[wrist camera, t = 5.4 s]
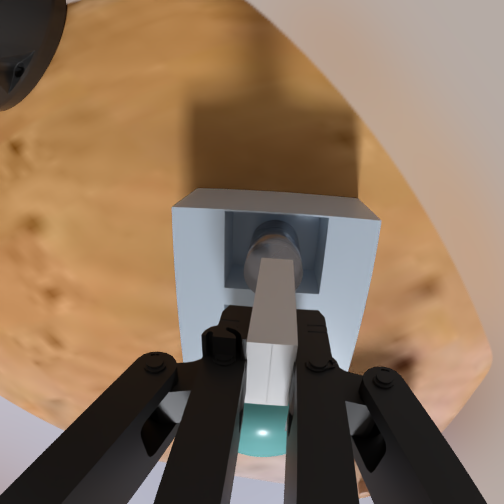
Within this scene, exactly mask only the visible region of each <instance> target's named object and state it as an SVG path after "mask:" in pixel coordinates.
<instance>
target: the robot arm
mask: <svg viewBox="0 0 504 504" xmlns="http://www.w3.org/2000/svg"><path fill="white" fill-rule="evenodd" d="M65 16H66V0H0V111H4V110H7V109H9V108H11V107H13V106H15V105H16V104H18V103H19V102H20V101H22V100H23V99H24V98H25V97H26V96H27V95H28V94H29V93H30V92H31V90H32V89H33V88H34V87H35V86H36V84H37V83H38V82H39V80H40V79H41V77H42V76H43V74H44V72H45V71H46V69H47V67H48V65H49V64H50V62H51V60H52V58H53V55H54V53H55V51H56V49H57V46H58V43H59V41H60V38H61V34H62V31H63V27H64V22H65ZM201 340H202V358H201V359H199V360H196V361H192V362H184V363H176V360H175V359H174V358H173V356H171V355H169V354H167V353H163V352H150V353H147V354H144V355H142V356H141V357H139V358H138V359H137V360H136V361H135V362H134V363H133V364H132V365H131V366H130V367H129V368H128V369H127V370H126V371H125V372H124V373H123V374H122V375H121V376H120V377H119V378H118V379H117V380H116V381H114V382H113V383H112V384H111V385H110V386H109V387H108V388H107V389H106V390H105V391H104V392H103V393H102V394H101V395H100V396H99V397H98V398H97V399H96V400H95V401H94V402H93V403H92V404H91V405H90V406H89V407H88V408H87V409H86V410H85V411H84V412H83V413H82V414H81V415H80V416H79V417H78V418H77V419H76V420H75V421H74V422H73V423H72V424H71V425H70V426H69V427H68V428H67V429H66V430H65V431H64V432H63V433H62V434H61V435H60V436H59V437H58V438H57V439H56V440H55V441H54V442H53V443H52V444H51V445H50V446H49V447H48V448H47V449H46V450H45V451H44V452H43V453H42V454H41V455H40V456H39V457H38V458H37V459H36V460H35V461H34V462H33V463H32V464H31V465H30V466H29V467H28V468H27V469H26V470H25V471H24V472H23V473H22V474H21V475H20V476H19V477H18V478H17V479H16V480H15V481H14V482H13V483H12V484H11V485H10V486H9V487H8V488H7V489H6V490H5V491H4V492H3V493H2V494H1V495H0V504H127V503H128V502H129V500H130V499H131V498H132V496H133V495H134V494H135V492H136V491H137V490H138V488H139V487H140V485H141V484H142V483H143V481H144V480H145V479H146V477H147V475H148V474H149V473H150V472H151V470H152V469H153V467H154V466H155V465H156V463H157V462H158V460H159V459H160V458H161V456H162V455H163V453H164V452H165V451H166V449H167V448H168V446H169V445H170V443H171V442H172V441H173V439H174V438H175V439H174V442H173V445H172V448H171V451H170V454H169V457H168V461H167V464H166V467H165V470H164V473H163V476H162V479H161V482H160V485H159V488H158V491H157V494H156V497H155V500H154V504H230V499H231V492H232V486H233V480H234V473H235V467H236V461H237V454H238V448H239V441H240V435H241V428H242V422H243V415H244V403H252V404H264V405H278V406H288V403H289V410H288V415H287V420H286V426H285V431H287V437H286V466H285V490H284V504H359V497H358V488H357V479H356V471H355V463H354V460H355V462H356V464H357V466H358V469H359V471H360V473H361V475H362V478H363V480H364V482H365V484H366V487H367V489H368V491H369V493H370V496H371V498H372V500H373V502H374V504H487V503H486V501H485V499H484V498H483V497H482V495H481V493H480V492H479V490H478V488H477V487H476V485H475V484H474V482H473V480H472V479H471V477H470V476H469V474H468V473H467V471H466V470H465V468H464V466H463V465H462V463H461V462H460V461H459V459H458V457H457V456H456V454H455V453H454V451H453V450H452V448H451V447H450V445H449V444H448V442H447V441H446V439H445V438H444V436H443V435H442V434H441V432H440V431H439V429H438V428H437V426H436V425H435V423H434V422H433V420H432V419H431V418H430V416H429V415H428V413H427V412H426V410H425V409H424V408H423V406H422V405H421V403H420V402H419V400H418V399H417V398H416V396H415V395H414V393H413V392H412V391H411V389H410V388H409V386H408V385H407V384H406V382H405V381H404V379H403V378H402V377H401V376H400V375H399V374H398V373H397V372H396V371H394V370H392V369H390V368H386V367H373V368H371V369H368V370H367V371H366V372H365V373H364V375H363V376H362V375H358V374H354V373H350V372H347V371H345V370H343V369H341V368H340V367H339V365H338V363H337V361H336V360H335V359H334V358H333V357H332V354H331V348H330V343H329V337H328V334H327V327H326V321H325V317H324V316H323V315H322V314H321V313H320V311H319V310H306V309H296V298H295V281H294V266H293V260H289V259H274V258H261V263H260V269H259V275H258V280H257V286H256V292H255V298H254V303H253V307H250V306H238V305H229V306H228V307H227V308H226V309H224V310H223V311H222V314H221V317H220V321H219V324H218V325H216V326H212V327H210V328H208V329H206V330H205V331H204V332H203V333H202V335H201Z"/></svg>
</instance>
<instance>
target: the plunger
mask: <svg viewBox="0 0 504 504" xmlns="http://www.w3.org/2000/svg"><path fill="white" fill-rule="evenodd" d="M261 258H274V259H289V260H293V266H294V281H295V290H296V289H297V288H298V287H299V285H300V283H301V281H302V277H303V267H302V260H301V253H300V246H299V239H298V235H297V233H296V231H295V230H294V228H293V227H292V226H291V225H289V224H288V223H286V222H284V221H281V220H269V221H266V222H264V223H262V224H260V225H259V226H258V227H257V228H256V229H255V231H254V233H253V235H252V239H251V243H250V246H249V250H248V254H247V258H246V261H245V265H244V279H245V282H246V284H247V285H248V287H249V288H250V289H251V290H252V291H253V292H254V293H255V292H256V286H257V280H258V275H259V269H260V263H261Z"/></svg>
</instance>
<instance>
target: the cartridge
mask: <svg viewBox="0 0 504 504" xmlns="http://www.w3.org/2000/svg"><path fill="white" fill-rule="evenodd" d="M288 410H289V403H288V406H278V405H264V404H252V403H244V415H243V422H242V428H241V435H240V441H239V448H238V453H241V454H244V455H249V456H256V457H271V456H278V455H283V454H286V437H287V431H285V426H286V420H287V415H288Z"/></svg>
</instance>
